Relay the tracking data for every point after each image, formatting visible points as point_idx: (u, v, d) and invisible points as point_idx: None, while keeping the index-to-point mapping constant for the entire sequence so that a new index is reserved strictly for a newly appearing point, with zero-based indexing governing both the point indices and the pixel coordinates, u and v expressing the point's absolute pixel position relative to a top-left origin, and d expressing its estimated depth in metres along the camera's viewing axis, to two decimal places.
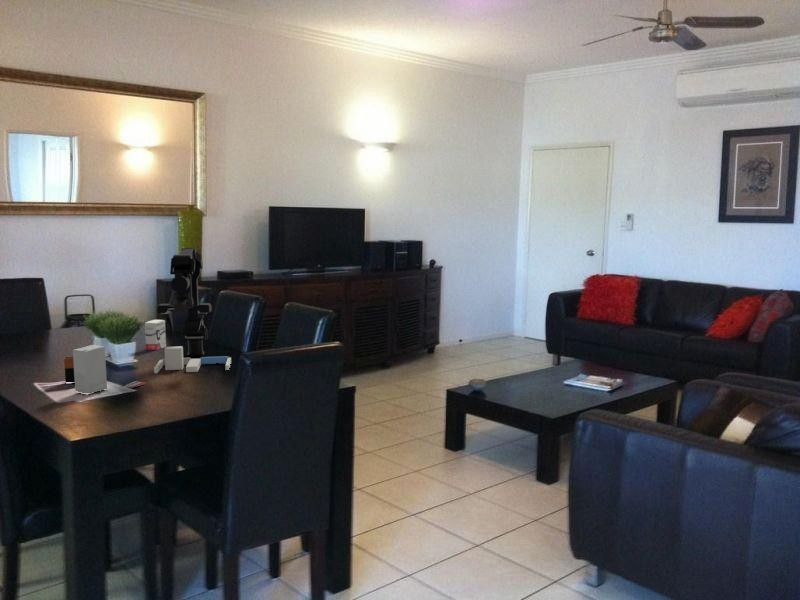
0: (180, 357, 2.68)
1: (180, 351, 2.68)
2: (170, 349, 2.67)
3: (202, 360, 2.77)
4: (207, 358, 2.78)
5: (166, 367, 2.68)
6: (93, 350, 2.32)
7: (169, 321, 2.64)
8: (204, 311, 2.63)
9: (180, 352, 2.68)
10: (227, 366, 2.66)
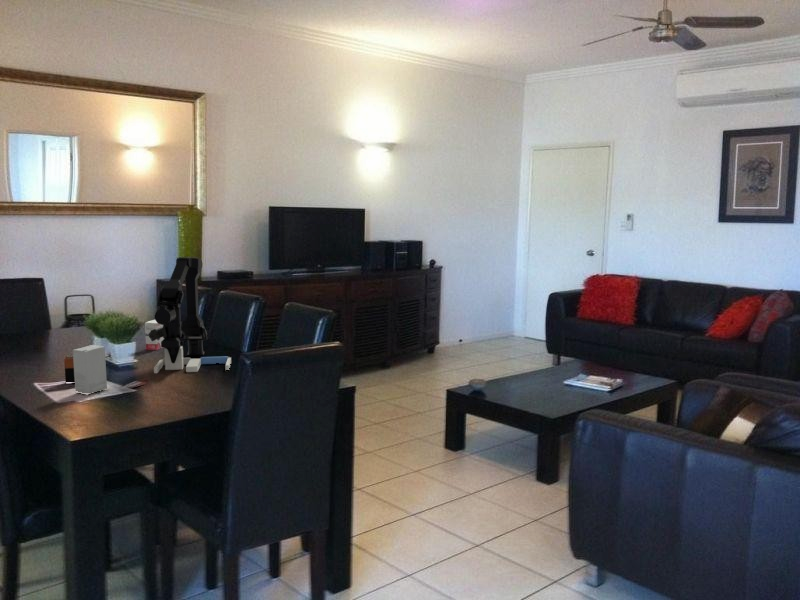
0: (180, 357, 2.68)
1: (180, 351, 2.68)
2: None
3: (202, 360, 2.77)
4: (207, 358, 2.78)
5: (166, 367, 2.68)
6: (93, 350, 2.32)
7: None
8: None
9: (180, 352, 2.68)
10: (227, 366, 2.66)
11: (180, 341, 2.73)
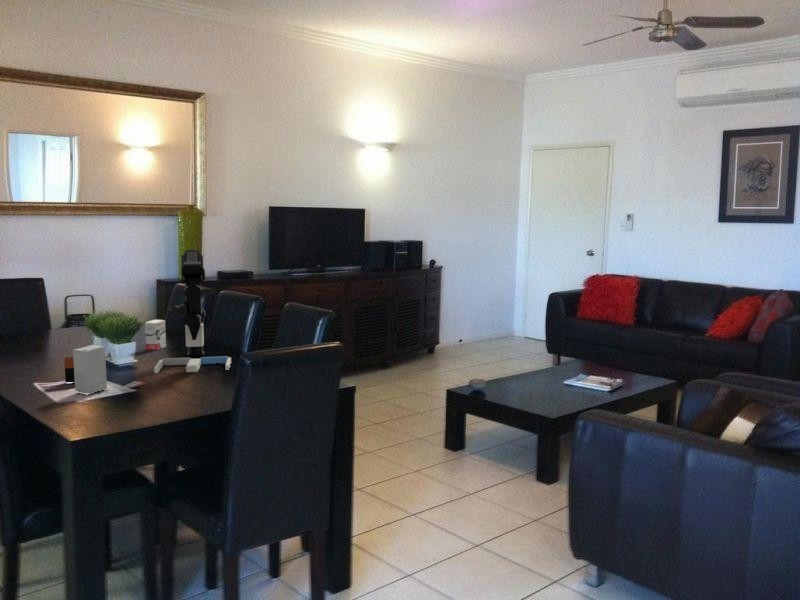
0: (201, 334, 2.68)
1: (200, 327, 2.68)
2: None
3: (202, 360, 2.77)
4: (207, 358, 2.78)
5: (187, 344, 2.68)
6: (93, 350, 2.32)
7: None
8: None
9: (201, 329, 2.68)
10: (227, 366, 2.66)
11: (201, 318, 2.73)
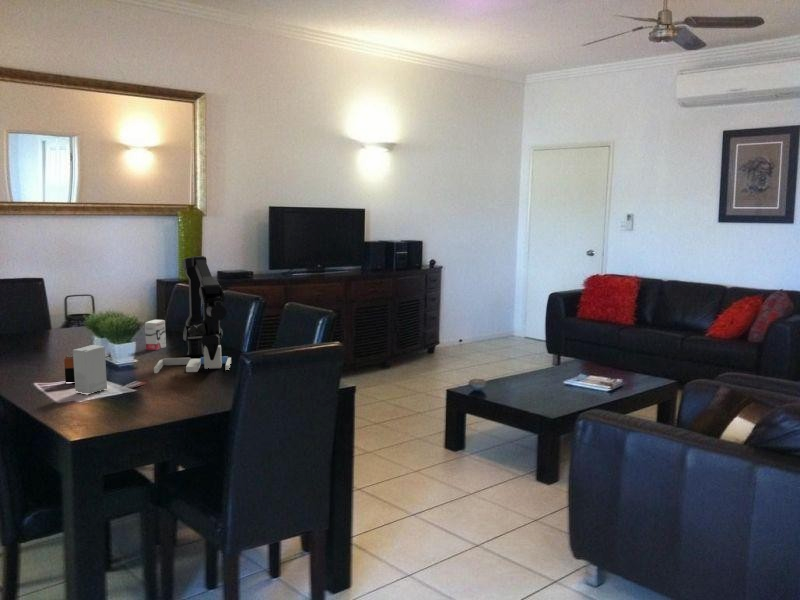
0: (219, 356, 2.70)
1: (219, 349, 2.70)
2: None
3: (202, 360, 2.77)
4: None
5: (205, 366, 2.70)
6: (93, 350, 2.32)
7: None
8: None
9: (219, 351, 2.70)
10: (227, 366, 2.66)
11: (218, 337, 2.76)
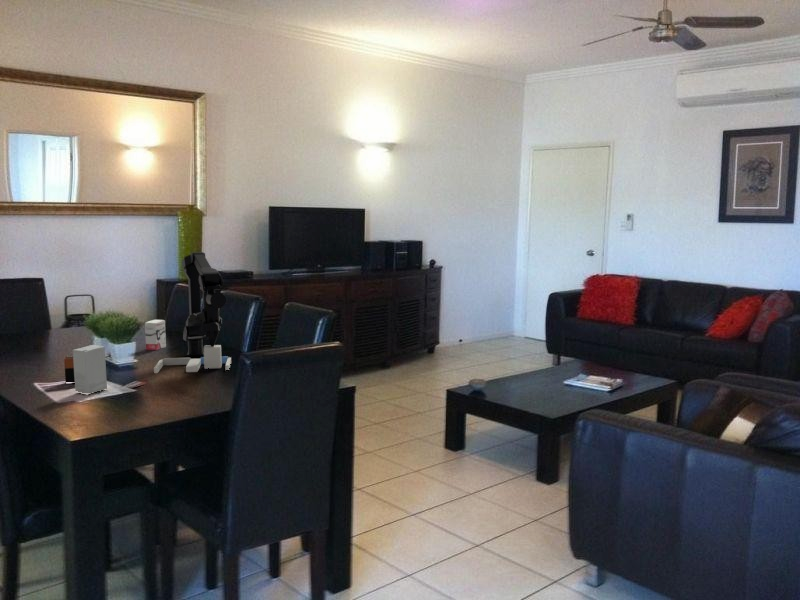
0: (219, 356, 2.70)
1: (219, 349, 2.70)
2: (209, 348, 2.69)
3: (202, 360, 2.77)
4: None
5: (205, 366, 2.70)
6: (93, 350, 2.32)
7: None
8: (201, 329, 2.62)
9: (219, 351, 2.70)
10: (227, 366, 2.66)
11: None
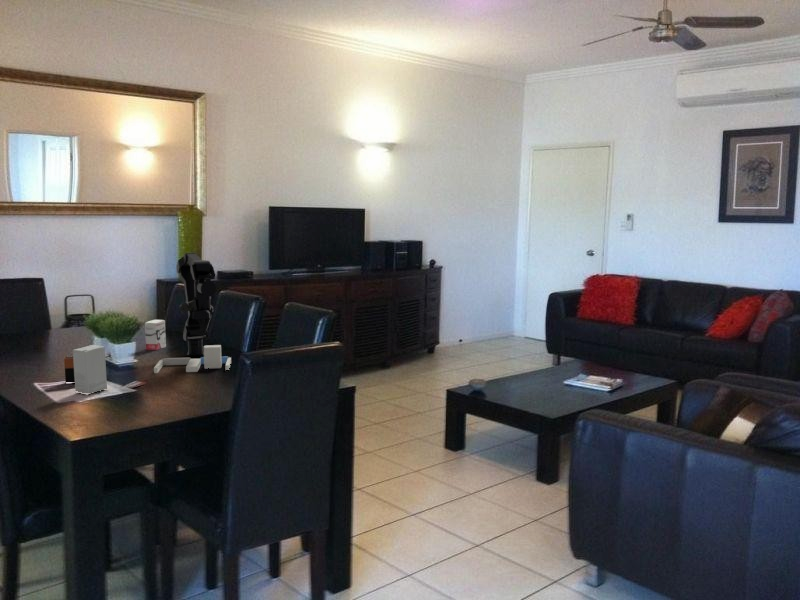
0: (219, 356, 2.70)
1: (219, 349, 2.70)
2: (209, 348, 2.69)
3: (202, 360, 2.77)
4: None
5: (205, 366, 2.70)
6: (93, 350, 2.32)
7: None
8: None
9: (219, 351, 2.70)
10: (227, 366, 2.66)
11: None
